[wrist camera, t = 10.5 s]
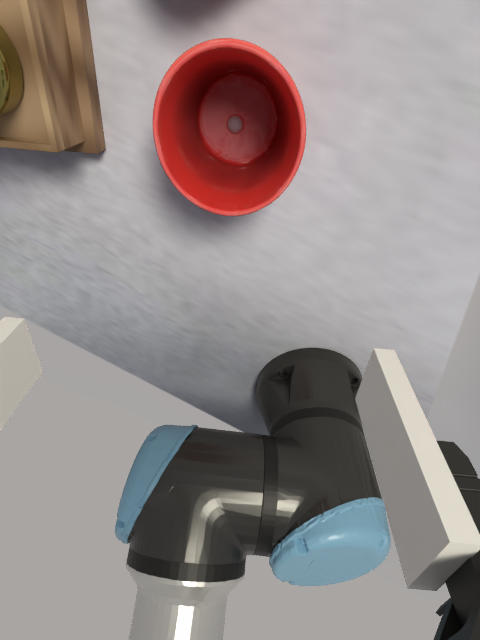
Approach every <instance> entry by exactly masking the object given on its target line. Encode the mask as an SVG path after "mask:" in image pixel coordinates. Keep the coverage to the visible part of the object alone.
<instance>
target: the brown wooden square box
mask: <svg viewBox="0 0 480 640" xmlns="http://www.w3.org/2000/svg"><path fill="white" fill-rule="evenodd" d="M0 25H1V26H2V28H3V29H4V30H5V32H6V33H7V35H8V37H9V38H10V40H11V42H12V44H13V46H14V48H15V50H16V52H17V55H18V58H19V60H20V64H21V68H22V74H23V91H22V96H21V99H20V101H19V104H18V105H17V107H16V108H15V110H14V111H13V112H12V113H10V114H9V115H7V116H5V117H3V118H0V147H7V148H17V149H27V150H37V151H47V152H57V153H58V152H60V151H74V152H84V153H94V154H99V153H100V152H102V151H104V150H106V148H105V141H104V133H103V126H102V118H101V110H100V103H99V95H98V88H97V80H96V72H95V65H94V57H93V50H92V42H91V34H90V27H89V19H88V11H87V4H86V0H0Z"/></svg>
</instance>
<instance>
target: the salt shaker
mask: <svg viewBox="0 0 480 640" xmlns="http://www.w3.org/2000/svg"><path fill="white" fill-rule="evenodd" d="M22 91H23V74H22V68H21V64H20V60H19V58H18V55H17V52H16V50H15V48H14V46H13V44H12V42H11V40H10V38H9V37H8V35H7V33H6V32H5V30H4V29H3V28H2V26H1V25H0V118H3V117H5V116H7V115H9V114H10V113H12V112H13V111H14V110H15V108H16V107H17V105H18V104H19V101H20V99H21V96H22Z"/></svg>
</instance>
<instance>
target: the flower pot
mask: <svg viewBox="0 0 480 640" xmlns="http://www.w3.org/2000/svg"><path fill="white" fill-rule="evenodd" d="M153 135H154V141H155V146H156V150H157V154H158V157H159V160H160V162H161V165H162V167H163V169H164V171H165V173H166V175H167V176H168V178H169V179H170V181H171V182H172V183H173V185H174V186H175V187H176V188H177V190H178V191H179V192H180V193H181V194H182V195H183V196H184V197H186V198H187V199H188V200H189V201H191V202H192V203H193V204H195V205H197V206H198V207H200V208H202V209H204V210H206V211H209V212H212V213H215V214H218V215H223V216H240V215H246V214H250V213H253V212H256V211H258V210H260V209H262V208H264V207H266V206H268V205H269V204H271V203H272V202H273V201H274V200H276V199H277V198H278V197H279V196H280V195H281V194H282V193H283V192H284V191H285V189H286V188H287V187H288V186H289V184H290V183H291V181H292V180H293V178H294V176H295V174H296V172H297V170H298V168H299V166H300V163H301V160H302V156H303V153H304V148H305V141H306V120H305V113H304V108H303V104H302V100H301V97H300V94H299V92H298V90H297V87H296V85H295V83H294V81H293V80H292V78H291V76H290V75H289V73H288V72H287V70H286V69H285V68H284V67H283V65H282V64H281V63H280V62H279V61H278V60H277V59H276V58H275V57H274V56H272V55H271V54H270V53H269V52H267V51H266V50H264V49H262V48H261V47H259V46H257V45H255V44H252V43H250V42H247V41H244V40H238V39H233V38H219V39H213V40H208V41H205V42H202V43H200V44H198V45H196V46H194V47H192V48H190V49H189V50H187V51H186V52H184V53H183V54H182V55H181V56H180V57H179V58H178V59H177V60H176V61H175V62H174V63H173V64H172V65H171V67H170V68H169V70H168V71H167V72H166V74H165V76H164V78H163V80H162V82H161V84H160V86H159V89H158V92H157V95H156V99H155V104H154V111H153Z"/></svg>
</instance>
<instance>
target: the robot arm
mask: <svg viewBox="0 0 480 640" xmlns="http://www.w3.org/2000/svg"><path fill="white" fill-rule="evenodd" d="M42 373H43V369H42V366H41V364H40V361H39V358H38V355H37V352H36V350H35V347H34V344H33V341H32V339H31V336H30V333H29V330H28V327H27V324H26V322H25V319H22V318H10V317H4V318H3V319H2V320H1V321H0V431H1V430H2V429H3V427H4V426H5V424H6V423H7V422H8V420H9V419H10V417H11V416H12V415H13V413H14V412H15V411H16V409H17V408H18V406H19V405H20V404H21V402H22V401H23V400H24V398H25V397H26V395H27V394H28V393H29V391H30V390H31V388H32V387H33V386H34V384H35V383H36V381H37V380H38V379H39V378H40V376H41V375H42ZM257 402H258V406H259V409H260V411H261V414H262V416H263V419H264V421H265V424H266V426H267V429H268V431H269V434H270V436H267V435H259V434H251V433H242V432H233V431H225V430H216V429H207V428H199V427H198V426H197V425H192V426H174V425H163V426H160V427H158V428H156V429H155V430H154V431H152V432H151V433H150V434H149V436H148V437H147V438H146V440H145V441H144V443H143V445H142V446H141V448H140V450H139V452H138V454H137V456H136V459H135V461H134V463H133V465H132V468H131V470H130V473H129V476H128V478H127V481H126V484H125V487H124V490H123V494H122V497H121V500H120V504H119V508H118V513H117V517H118V519H117V522H116V527H115V533H116V537H117V538H118V539H119V540H121V541H122V542H123V543H127V544H128V543H129V542H130V548H129V553H128V558H127V563H126V568H127V569H128V571H129V572H130V574H131V576H132V578H133V579H134V581H135V582H136V584H137V588H138V591H137V597H136V602H135V609H134V613H133V619H132V624H131V630H130V636H129V640H223V631H224V621H225V611H226V601H227V596H228V594H229V593H230V592H231V591H232V590H233V589H234V588H235V587H236V586H237V585H238V584H239V583H240V582H241V581H242V580H243V578H244V574H245V573H244V572H245V560H246V555H259V556H267V557H270V559H269V564H270V566H271V568H272V571H273V574H274V575H275V576H276V577H277V578H278V579H279V580H281V581H283V582H289V583H290V584H292V585H299V586H321V585H328V584H335V583H340V582H344V581H348V580H351V579H354V578H357V577H360V576H362V575H364V574H366V573H368V572H370V571H372V570H373V569H375V568H376V567H378V566H379V565H380V564H381V563H382V562H383V561H384V560H385V558H386V556H387V555H388V553H389V549H390V543H391V542H390V541H391V539H390V533H389V528H388V523H387V518H386V513H385V510H386V512H387V516H388V519H389V523H390V527H391V530H392V534H393V537H394V541H395V545H396V548H397V552H398V556H399V559H400V563H401V566H402V570H403V574H404V577H405V581H406V584H407V588H410V589H420V590H432V591H437V590H438V589H439V588H440V587H441V586H442V585H443V584H444V583H445V582H446V585H447V588H448V591H449V593H450V596H451V598H450V599H448V600H447V601H446V602H445V603H444V604H443V605H441V606H440V608H439V609H438V610H437V612H436V613H437V614H438V615H439V616H441V615H442V614H443V616H442V618H441V621H440V624H439V627H438V629H437V632H436V635H435V637H434V640H480V479H478V478H477V473H476V471H475V469H474V468H473V466H472V464H471V462H470V460H469V458H468V457H467V456H466V455H465V454H464V453H463V452H462V451H461V449H460V448H459V447H458V446H457V445H456V444H455V443H454V442H446V441H436V439H435V437H434V434H433V432H432V430H431V428H430V426H429V424H428V422H427V419H426V417H425V415H424V413H423V411H422V409H421V406H420V404H419V402H418V400H417V398H416V396H415V394H414V391H413V389H412V387H411V385H410V383H409V381H408V378H407V376H406V374H405V372H404V370H403V368H402V365H401V363H400V361H399V359H398V357H397V355H396V353H395V350H389V349H377V348H374V349H373V352H372V354H371V357H370V360H369V362H368V365H367V368H366V371H365V373H364V376H363V379H362V376H361V373H360V371H359V369H358V367H357V366H356V365H355V364H354V363H353V362H352V361H351V360H350V359H349V358H347V357H346V356H344V355H342V354H340V353H337V352H334V351H331V350H327V349H320V348H306V349H298V350H294V351H290V352H287V353H285V354H282V355H280V356H278V357H277V358H275V359H274V360H272V361H271V362H270V363H269V364H267V365H266V366H265V368H264V369H263V370H262V372H261V373H260V375H259V378H258V381H257ZM362 426H363V429H364V433H365V436H366V440H367V443H366V440H365V437H364V433H363V429H362ZM367 444H368V447H369V451H370V454H371V458H372V461H371V458H370V454H369V451H368V447H367ZM372 462H373V465H374V468H373V465H372ZM374 469H375V472H374ZM375 473H376V476H377V479H376V476H375ZM377 480H378V483H379V486H378V483H377ZM379 487H380V490H379ZM380 491H381V494H382V497H381V494H380ZM382 498H383V500H382Z"/></svg>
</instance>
